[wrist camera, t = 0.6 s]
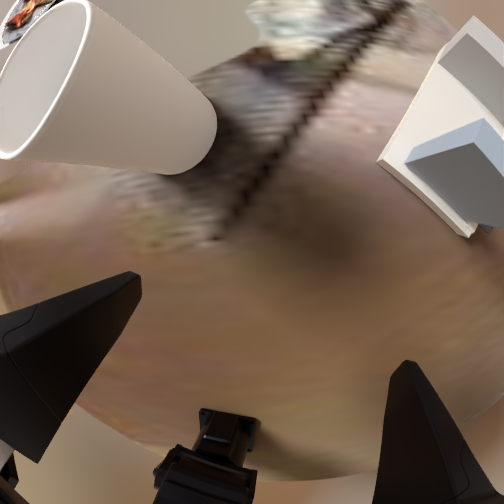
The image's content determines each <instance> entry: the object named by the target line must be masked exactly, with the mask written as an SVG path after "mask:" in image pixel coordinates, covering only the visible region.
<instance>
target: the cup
mask: <svg viewBox="0 0 504 504" xmlns="http://www.w3.org/2000/svg"><path fill="white" fill-rule="evenodd" d="M216 131H217V117H216V113H215V110H214V108H213V106H212V104H211V102H210V101H209V100H208V99H207V98H206V97H205V96H204V95H203V94H202V93H201V92H200V91H199V90H198V89H197V88H196V87H195V86H194V85H192V84H191V83H190V82H189V81H188V80H187V79H186V78H185V77H184V76H183V75H181V74H180V73H179V72H178V71H177V70H176V69H175V68H173V67H172V66H171V65H170V64H169V63H168V62H167V61H166V60H164V59H163V58H162V57H161V56H160V55H158V54H157V53H156V52H155V51H154V50H153V49H151V48H150V47H149V46H148V45H146V44H145V43H144V42H143V41H142V40H140V39H139V38H138V37H137V36H135V35H134V34H133V33H132V32H130V31H129V30H128V29H127V28H125V27H124V26H123V25H121V24H120V23H119V22H117V21H116V20H115V19H113V18H112V17H111V16H109V15H108V14H107V13H105V12H104V11H102V10H101V9H99V8H98V7H97V6H95V5H94V4H92V3H91V2H89V1H87V0H65V1H62V2H60V3H58V4H57V5H55V6H54V7H52V8H51V9H49V10H48V11H47V12H45V13H44V14H43V15H42V16H41V17H40V18H39V19H38V20H36V22H35V23H34V24H33V25H32V26H31V27H30V28H29V29H28V30H27V31H26V33H25V34H24V35H23V36H22V38H21V39H20V41H19V42H18V43H17V45H16V46H15V48H14V50H13V51H12V53H11V55H10V56H9V58H8V60H7V62H6V64H5V66H4V68H3V70H2V72H1V75H0V158H1V159H6V160H19V161H20V160H21V161H39V162H55V163H69V164H81V165H91V166H101V167H110V168H119V169H128V170H136V171H143V172H151V173H158V174H165V175H173V174H179V173H182V172H185V171H187V170H189V169H191V168H192V167H194V166H195V165H197V164H198V163H199V162H200V161H201V160H202V159H203V158H204V157H205V156H206V154H207V153H208V151H209V150H210V148H211V146H212V144H213V142H214V139H215V136H216Z"/></svg>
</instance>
